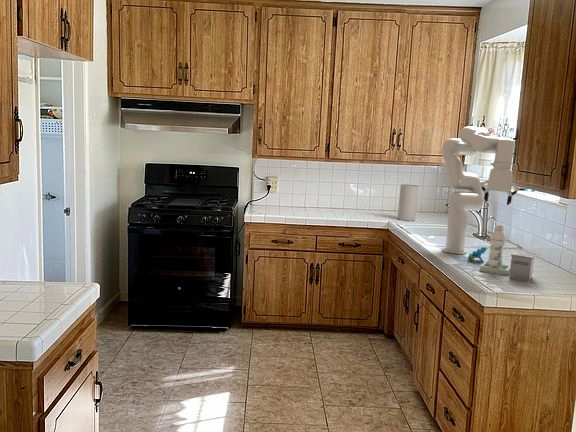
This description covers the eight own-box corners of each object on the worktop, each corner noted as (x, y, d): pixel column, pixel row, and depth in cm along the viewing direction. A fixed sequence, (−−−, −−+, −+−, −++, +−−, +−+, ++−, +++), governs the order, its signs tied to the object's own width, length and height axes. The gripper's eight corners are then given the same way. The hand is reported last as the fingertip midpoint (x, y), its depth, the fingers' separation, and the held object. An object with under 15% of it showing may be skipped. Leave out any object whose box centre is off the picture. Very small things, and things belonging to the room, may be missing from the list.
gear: (477, 255, 279) (489, 244, 271) (483, 265, 276) (495, 254, 268) (461, 259, 273) (473, 248, 266) (468, 269, 271) (479, 259, 263)
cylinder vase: (417, 221, 394) (420, 186, 391) (399, 220, 394) (402, 185, 391) (412, 219, 407) (416, 185, 403) (395, 218, 406) (399, 183, 403)
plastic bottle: (494, 271, 249) (499, 227, 246) (483, 268, 255) (488, 224, 252) (505, 271, 251) (510, 227, 248) (494, 267, 257) (499, 224, 254)
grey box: (511, 273, 249) (514, 250, 248) (532, 277, 245) (536, 253, 243) (507, 278, 240) (510, 254, 238) (529, 282, 236) (532, 257, 234)
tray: (484, 266, 261) (485, 261, 261) (510, 270, 255) (511, 265, 255) (479, 270, 251) (480, 265, 251) (506, 275, 245) (507, 270, 245)
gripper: (481, 164, 254) (475, 201, 258) (521, 168, 246) (515, 206, 249) (484, 163, 261) (479, 199, 264) (524, 167, 252) (518, 205, 255)
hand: (497, 203), depth 257 cm, fingers open, 9 cm apart
